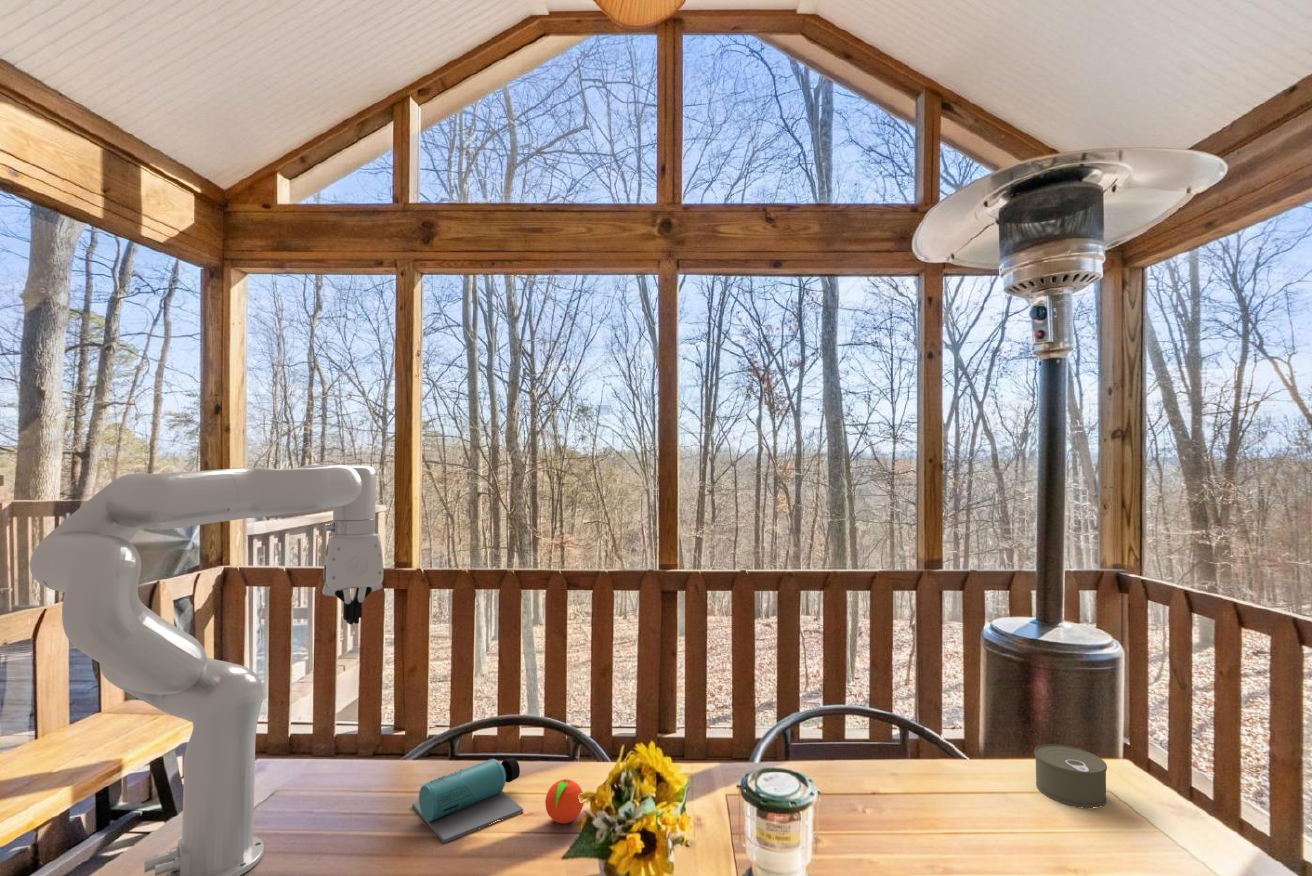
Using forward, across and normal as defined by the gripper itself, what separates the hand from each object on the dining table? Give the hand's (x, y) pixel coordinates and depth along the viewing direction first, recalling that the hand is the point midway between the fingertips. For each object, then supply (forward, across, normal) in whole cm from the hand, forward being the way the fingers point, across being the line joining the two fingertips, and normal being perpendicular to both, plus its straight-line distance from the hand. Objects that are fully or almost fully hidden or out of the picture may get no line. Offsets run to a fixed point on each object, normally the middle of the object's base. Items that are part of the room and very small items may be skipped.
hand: (352, 622), depth 126 cm
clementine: (+33, +27, -34) cm, 55 cm away
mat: (+33, +16, -19) cm, 41 cm away
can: (+33, +110, -88) cm, 145 cm away
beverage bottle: (+29, +6, -20) cm, 36 cm away
